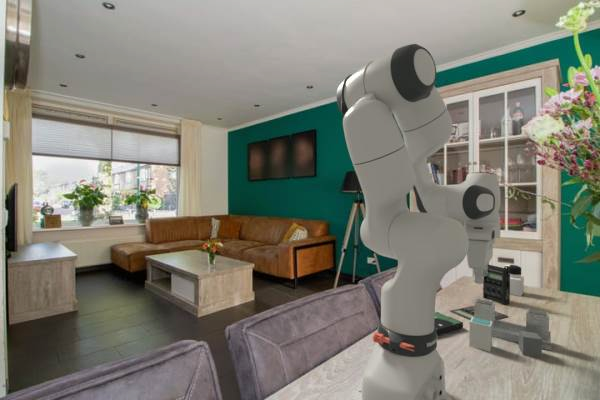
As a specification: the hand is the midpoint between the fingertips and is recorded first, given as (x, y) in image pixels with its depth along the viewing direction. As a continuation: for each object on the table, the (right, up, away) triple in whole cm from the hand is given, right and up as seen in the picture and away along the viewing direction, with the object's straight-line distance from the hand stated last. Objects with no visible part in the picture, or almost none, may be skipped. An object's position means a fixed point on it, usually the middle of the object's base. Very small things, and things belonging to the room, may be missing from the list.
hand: (481, 279), depth 84 cm
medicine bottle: (+42, -19, +47) cm, 66 cm away
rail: (+12, -19, +6) cm, 23 cm away
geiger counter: (+28, -19, +37) cm, 50 cm away
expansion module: (0, -19, 0) cm, 19 cm away
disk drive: (-8, -20, +12) cm, 25 cm away
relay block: (+11, -19, -4) cm, 22 cm away
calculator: (+13, -19, +23) cm, 33 cm away
